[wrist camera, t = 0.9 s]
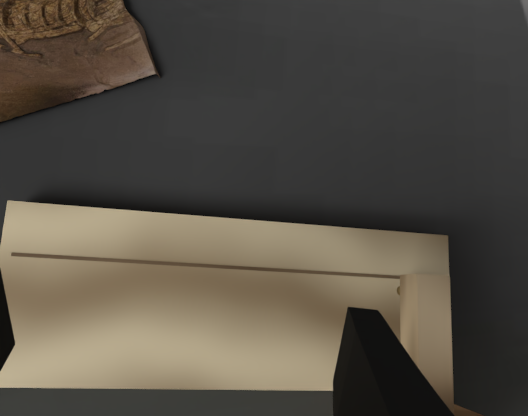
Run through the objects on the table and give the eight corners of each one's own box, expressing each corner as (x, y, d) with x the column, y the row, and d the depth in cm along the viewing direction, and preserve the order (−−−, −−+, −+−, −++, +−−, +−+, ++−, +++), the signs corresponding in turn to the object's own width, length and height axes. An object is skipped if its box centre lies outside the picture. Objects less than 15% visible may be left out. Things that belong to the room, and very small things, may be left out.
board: (436, 386, 25) (453, 392, 23) (-9, 380, 21) (-22, 387, 19) (432, 238, 26) (448, 235, 25) (17, 206, 22) (7, 200, 21)
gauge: (429, 517, 24) (538, 611, 17) (336, 522, 23) (411, 623, 16) (424, 280, 26) (518, 275, 19) (340, 275, 25) (406, 268, 18)
